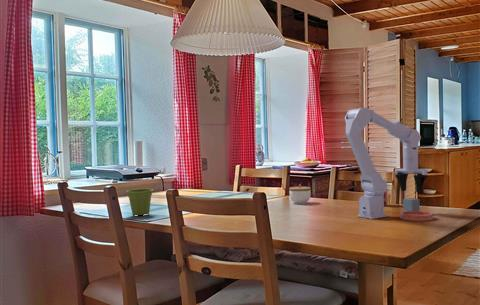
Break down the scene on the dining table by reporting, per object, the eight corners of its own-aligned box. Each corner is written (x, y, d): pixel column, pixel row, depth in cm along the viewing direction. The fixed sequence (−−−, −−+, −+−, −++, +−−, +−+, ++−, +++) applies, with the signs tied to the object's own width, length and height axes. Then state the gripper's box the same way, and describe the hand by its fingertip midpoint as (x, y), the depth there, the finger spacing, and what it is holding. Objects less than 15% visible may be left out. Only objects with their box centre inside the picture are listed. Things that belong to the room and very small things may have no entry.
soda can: (384, 206, 212) (383, 180, 211) (369, 205, 216) (368, 180, 216) (389, 204, 217) (389, 179, 217) (374, 203, 222) (374, 178, 221)
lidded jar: (286, 202, 235) (286, 184, 235) (307, 201, 237) (306, 183, 237) (293, 205, 225) (292, 186, 225) (314, 204, 227) (313, 184, 226)
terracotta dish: (418, 222, 172) (418, 216, 172) (393, 218, 183) (393, 212, 183) (440, 218, 178) (439, 213, 178) (414, 214, 189) (414, 209, 189)
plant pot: (136, 212, 215) (135, 188, 215) (158, 213, 211) (158, 188, 211) (121, 217, 204) (120, 191, 204) (145, 217, 200) (144, 191, 200)
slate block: (412, 214, 189) (411, 200, 189) (403, 213, 193) (403, 199, 193) (419, 213, 191) (419, 199, 191) (410, 212, 195) (410, 198, 195)
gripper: (432, 158, 187) (432, 192, 188) (403, 157, 200) (403, 189, 200) (420, 159, 184) (420, 193, 184) (391, 158, 196) (392, 190, 197)
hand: (411, 191), depth 192 cm, fingers open, 7 cm apart
